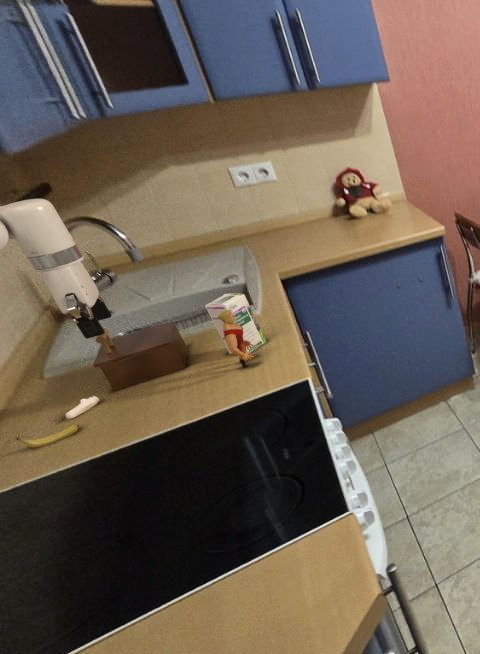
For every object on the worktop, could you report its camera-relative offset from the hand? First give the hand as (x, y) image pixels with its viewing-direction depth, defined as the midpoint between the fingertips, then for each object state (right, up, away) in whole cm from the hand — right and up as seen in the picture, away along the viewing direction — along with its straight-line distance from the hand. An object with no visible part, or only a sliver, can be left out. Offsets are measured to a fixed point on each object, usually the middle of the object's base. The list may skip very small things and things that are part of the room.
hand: (99, 327), depth 119 cm
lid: (+4, -5, +5) cm, 8 cm away
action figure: (+29, -10, +7) cm, 31 cm away
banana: (+5, -22, -14) cm, 26 cm away
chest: (+5, -11, +8) cm, 15 cm away
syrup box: (+24, -7, +13) cm, 28 cm away
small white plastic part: (+2, -18, -6) cm, 19 cm away
